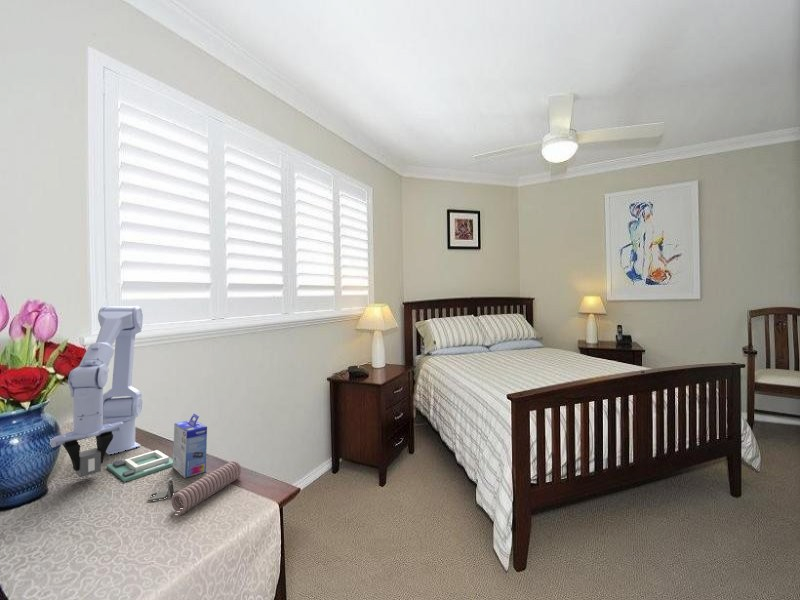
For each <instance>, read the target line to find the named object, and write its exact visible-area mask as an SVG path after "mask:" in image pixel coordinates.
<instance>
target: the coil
mask: <svg viewBox="0 0 800 600" xmlns="http://www.w3.org/2000/svg"><path fill="white" fill-rule="evenodd" d="M241 474H242V467H241V464H240V463H239V462H238V461H236V460H231V461H228V462H227V463H226V464H224V465H222V466H220V467H219V468H217V469H215V470H214V471H211V472H210V473H208V474H206V475H204V476H203V477H201V478H200V479H197V480H196V481H194V482H193V483H191V484H189V485H187V486H186V487H184V488H182V489H180V490H177V491H178V492H177V493H175V494H174V495H173V496H172V498H170V501H171V502H170V503H171V507H172V508H173V510H174V511H175V510H176V511H180V512H176V511H175V513H174V515H175V514H178V515H180V516H182V515H184V514H185V513H187V512H188V511H190V510H191V509H192V507H193V508H195V507H196V506H198V505H199V504H201V503H202V502H203V501H205V500H207V499H208V498H210V497H211V496H213V495H214V494H216V493H217V492H219V491H220V490H223V488H225V487H227V486H228V485H230V484H232V483H233V482H235V481H236V480H238V479H239V478H240V476H241ZM207 497H208V498H207ZM204 499H205V500H204ZM197 504H198V505H197ZM194 506H195V507H194ZM180 508H183V509H180ZM189 509H190V510H189ZM184 512H185V513H184Z"/></svg>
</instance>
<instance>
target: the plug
mask: <svg viewBox="0 0 800 600" xmlns="http://www.w3.org/2000/svg"><path fill="white" fill-rule="evenodd" d="M79 464H80V468H79V470H78V471H75V474H76V475H77V476H78V477H79V478H83V477H86V476H90V475H94V474H96V473H97V474H98V473H99V472H102V471H101V470H102V467H101V466H102V465H101V452H100V451H99V450H98V449H97V447H95V448H91V449H87V450H82V451H80V453H79Z"/></svg>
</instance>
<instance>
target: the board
mask: <svg viewBox="0 0 800 600" xmlns="http://www.w3.org/2000/svg"><path fill="white" fill-rule="evenodd" d="M171 467H173V458H171V457H170V456H168V454H167V455H166V454H165V453H163V452H162V451H160V450H158V449H156V450H153V451H149V452H146V453H142V454H139V455H136V456H133V457H132V456H131V457H129V458H125V459H121V460H120V459H119V460H118V461H114V462H113V461H112V463H109V464H106V469H107V470H108V471H110V472H111V473H112V474H114V475H115V476H116V477H117V478H118V479H120V480H121V481H123V483H126V481H127V482H129V481H132V480H136V479H138V478H142V477H145V476H147V475H150V474H153V473H156V472H159V471H162V470H165V469H167V468H168V469H169V468H171Z"/></svg>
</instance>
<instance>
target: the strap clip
mask: <svg viewBox="0 0 800 600" xmlns="http://www.w3.org/2000/svg"><path fill="white" fill-rule="evenodd" d="M166 487H167V490H163V491H157V492H153V493H150V494H149V496H148V498H147V502H148V501H153V500H159V499H164V498H166V497H167V496H168V497H167V498H170V497H172V496H173V493H174V494H175V493H177V492H178V491H179V490H175V489H174V481H173V477H172V476H171V477H169V479H168V481H167V485H166ZM153 495H155V496H153ZM151 496H152V497H151ZM150 498H151V499H150ZM167 498H166V499H167ZM164 500H165V499H164ZM159 501H160V500H159Z"/></svg>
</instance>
